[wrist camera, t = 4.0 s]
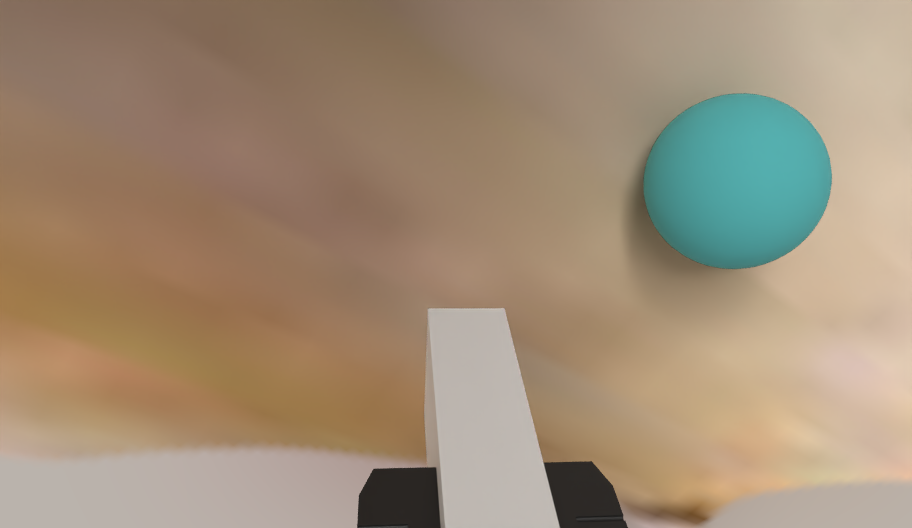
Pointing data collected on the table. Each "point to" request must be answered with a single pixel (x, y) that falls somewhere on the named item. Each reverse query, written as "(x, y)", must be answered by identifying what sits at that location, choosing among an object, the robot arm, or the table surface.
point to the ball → (737, 181)
